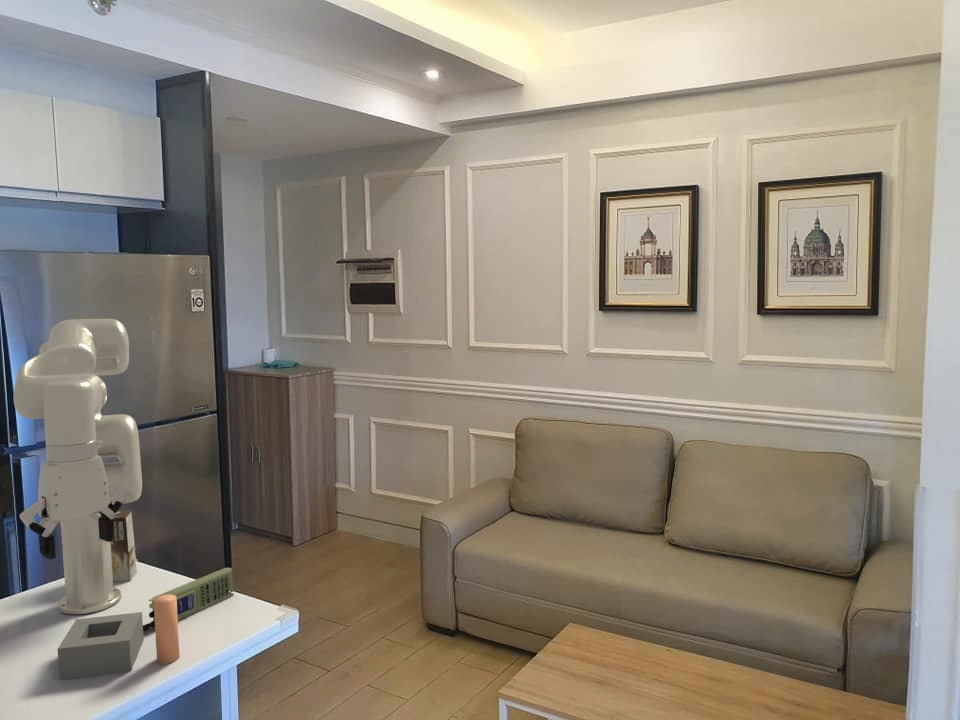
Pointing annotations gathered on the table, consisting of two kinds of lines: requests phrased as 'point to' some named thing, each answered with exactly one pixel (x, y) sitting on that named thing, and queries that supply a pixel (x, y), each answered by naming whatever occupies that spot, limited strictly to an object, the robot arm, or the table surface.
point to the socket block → (100, 646)
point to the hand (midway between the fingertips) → (78, 548)
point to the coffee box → (123, 547)
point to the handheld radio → (198, 594)
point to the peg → (166, 629)
